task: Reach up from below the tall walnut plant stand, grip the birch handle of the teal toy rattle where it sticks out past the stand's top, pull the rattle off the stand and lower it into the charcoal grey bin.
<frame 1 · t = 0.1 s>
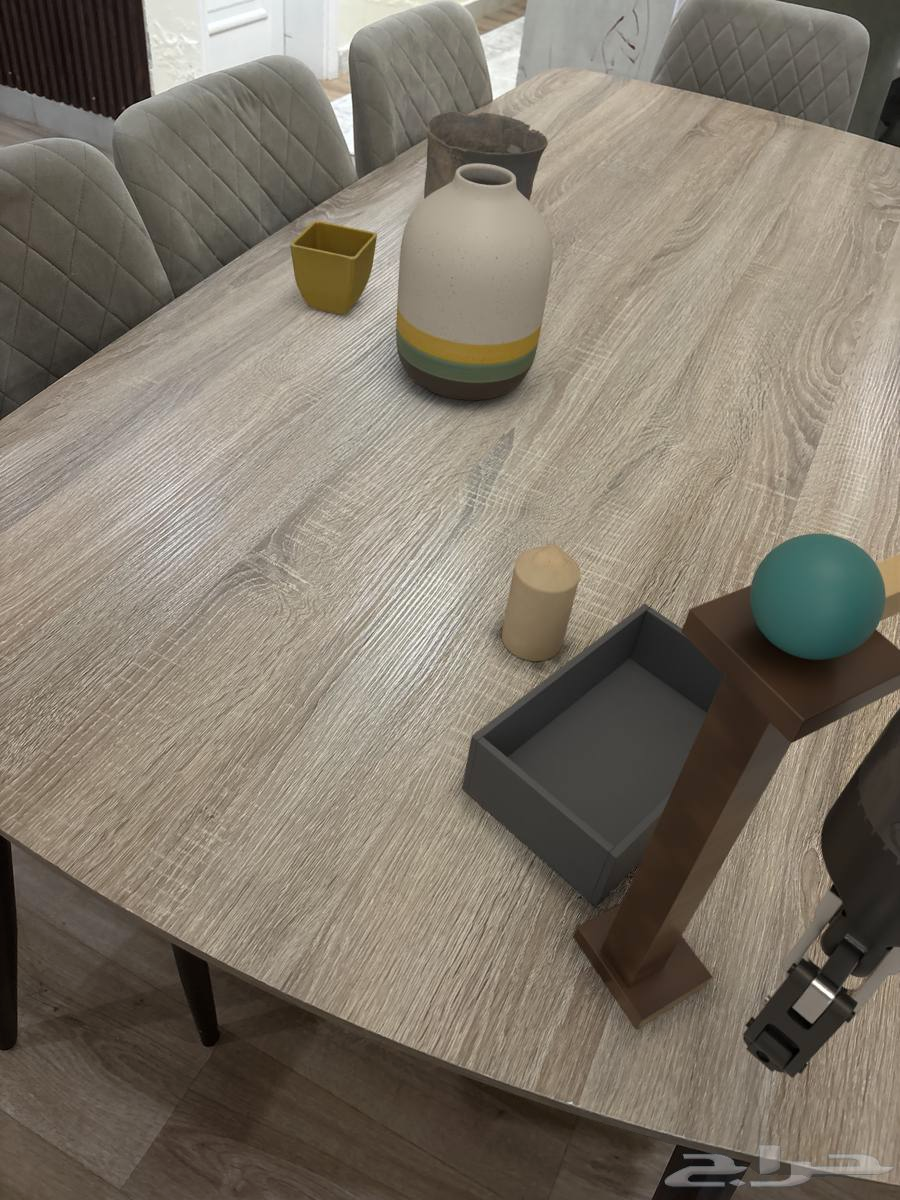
hand: (808, 991, 47), 15 cm above the table, tool pointing down, fingers open, 8 cm apart
candle: (531, 640, 84), on the table
flower pot: (333, 305, 125), on the table
vase: (462, 377, 115), on the table
dark brown chipped pot: (475, 235, 146), on the table
stand: (638, 961, 63), on the table
rattle: (794, 639, 40), point 32 cm above the table, touching stand
bin: (613, 766, 75), on the table
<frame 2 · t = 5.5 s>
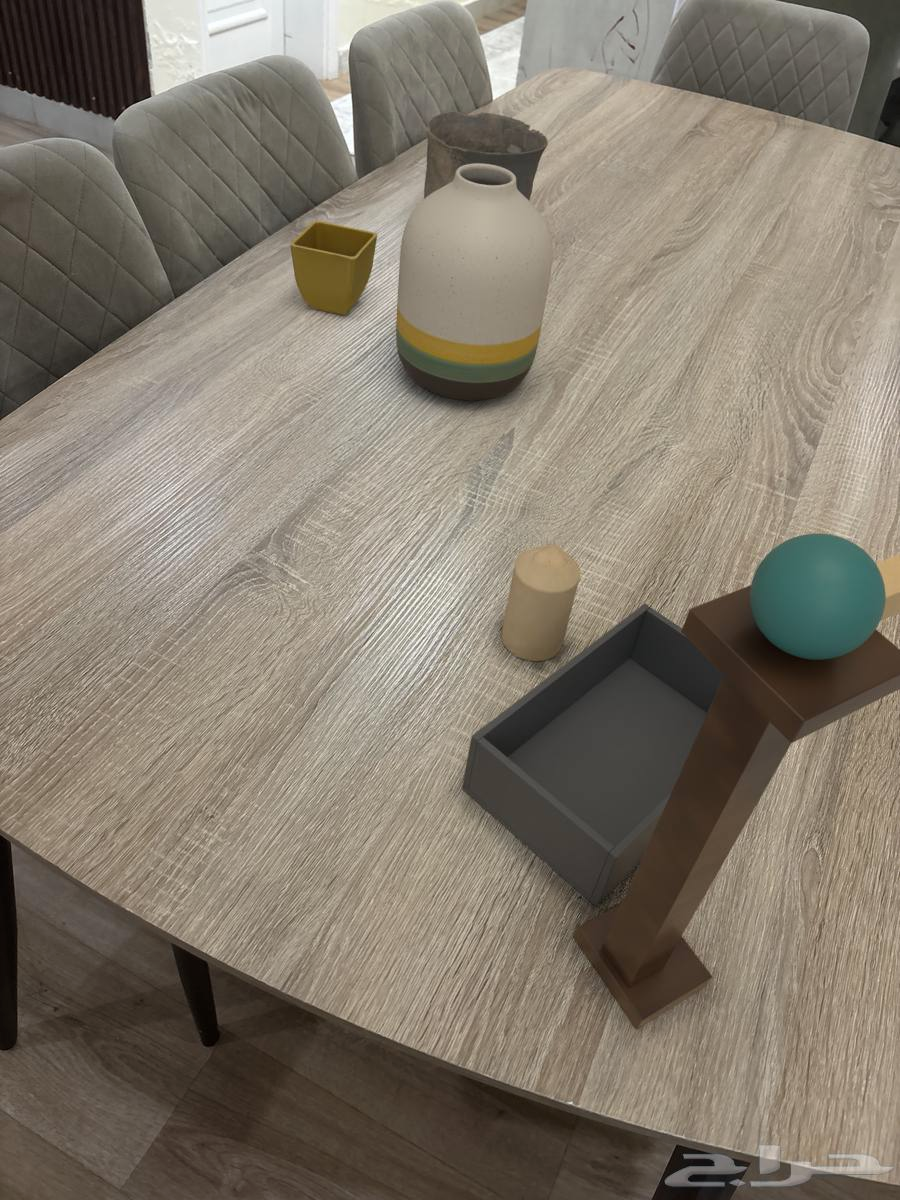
nothing on the table moved.
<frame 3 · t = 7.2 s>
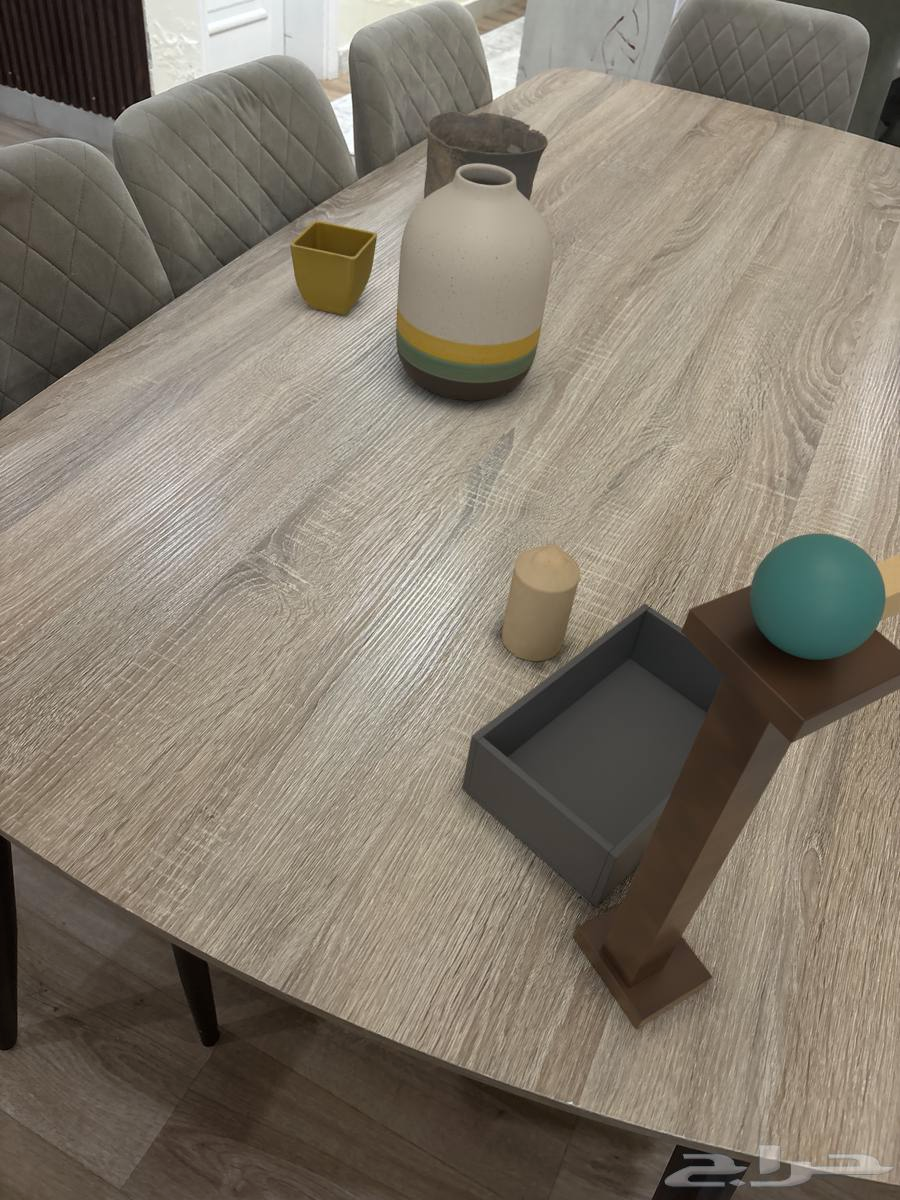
nothing on the table moved.
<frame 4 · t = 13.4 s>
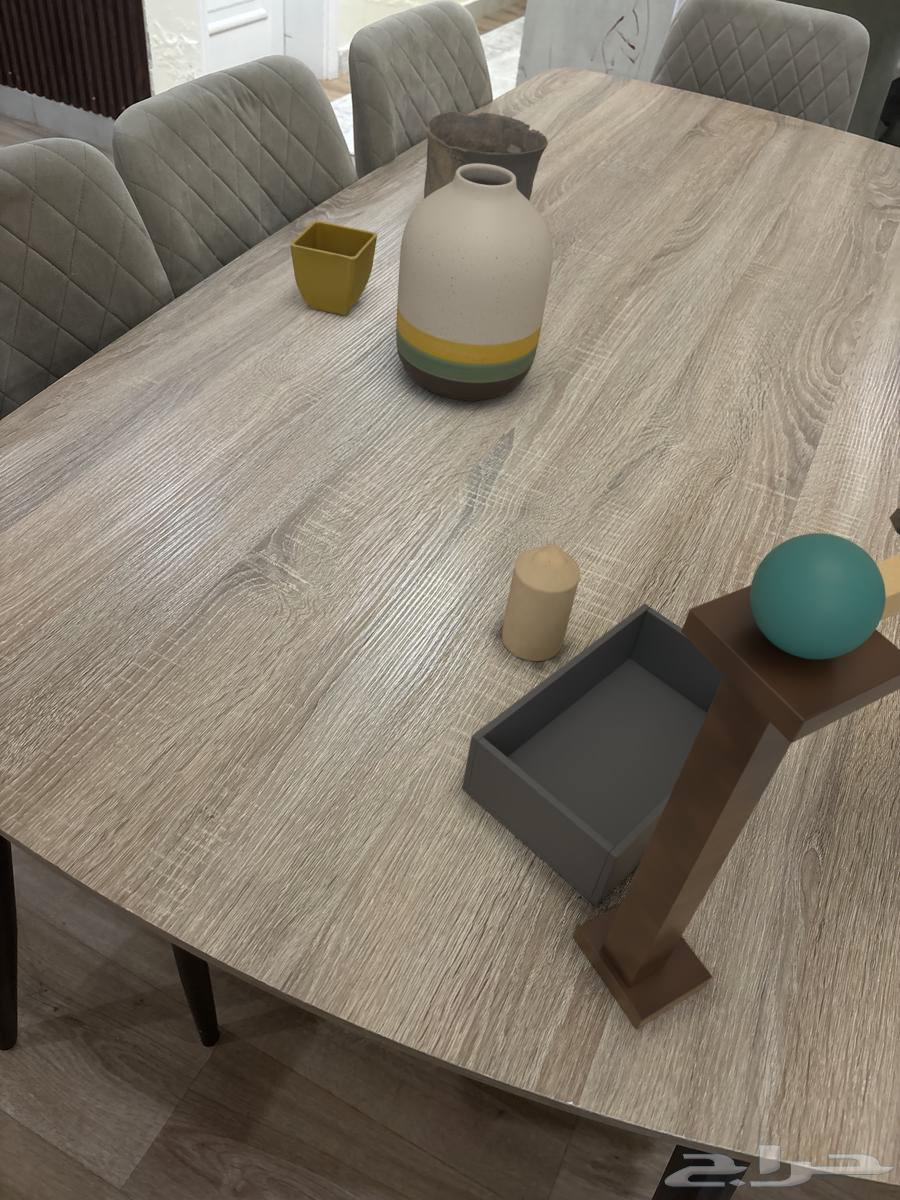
rattle: (794, 639, 40), point 32 cm above the table, touching gripper, stand
everything else where it was.
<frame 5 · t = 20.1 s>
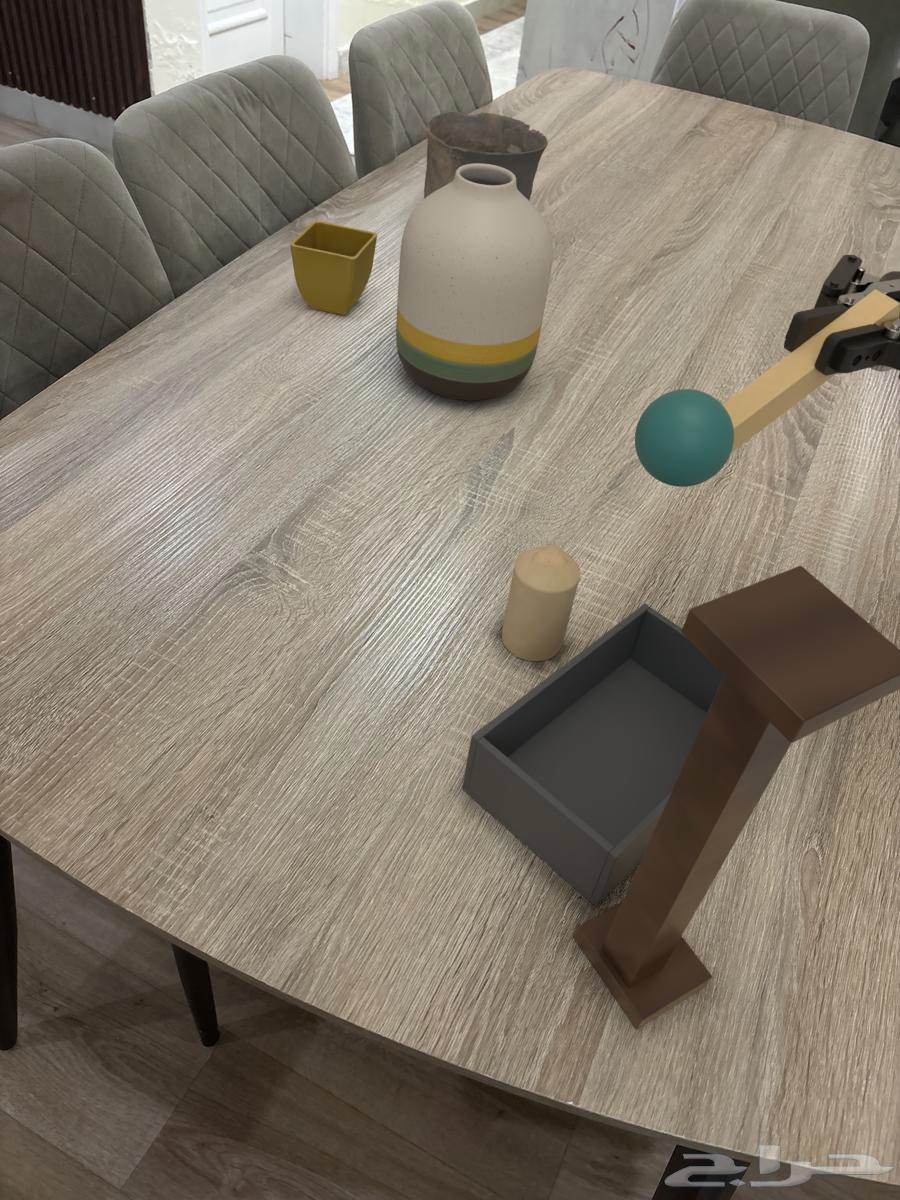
hand: (809, 345, 51), 36 cm above the table, tool horizontal, fingers closed on rattle
rattle: (690, 467, 53), point 30 cm above the table, tilted 29°, touching gripper
everything else where it was.
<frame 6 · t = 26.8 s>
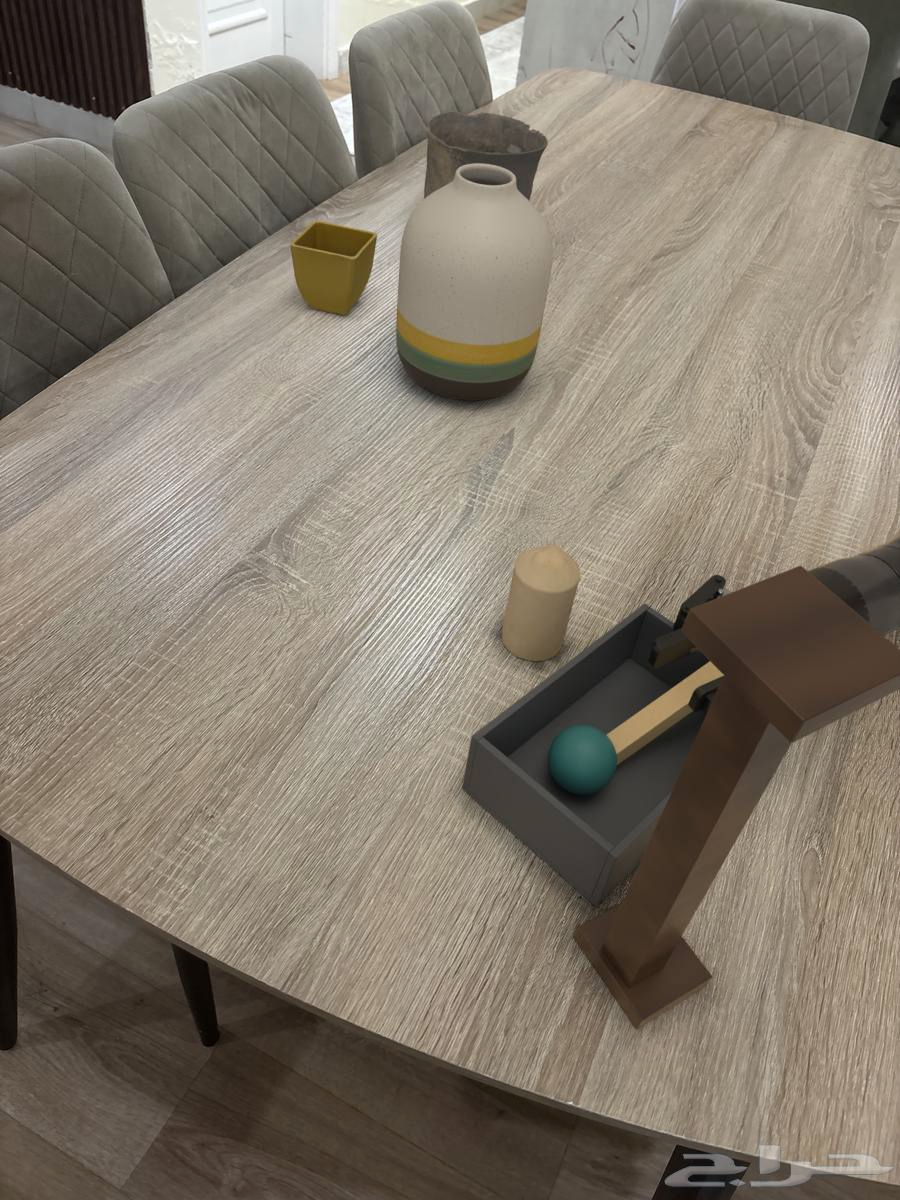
hand: (674, 678, 70), 9 cm above the table, tool horizontal, fingers open, 4 cm apart
rattle: (587, 773, 73), point 1 cm above the table, tilted 23°, touching bin
everything else where it was.
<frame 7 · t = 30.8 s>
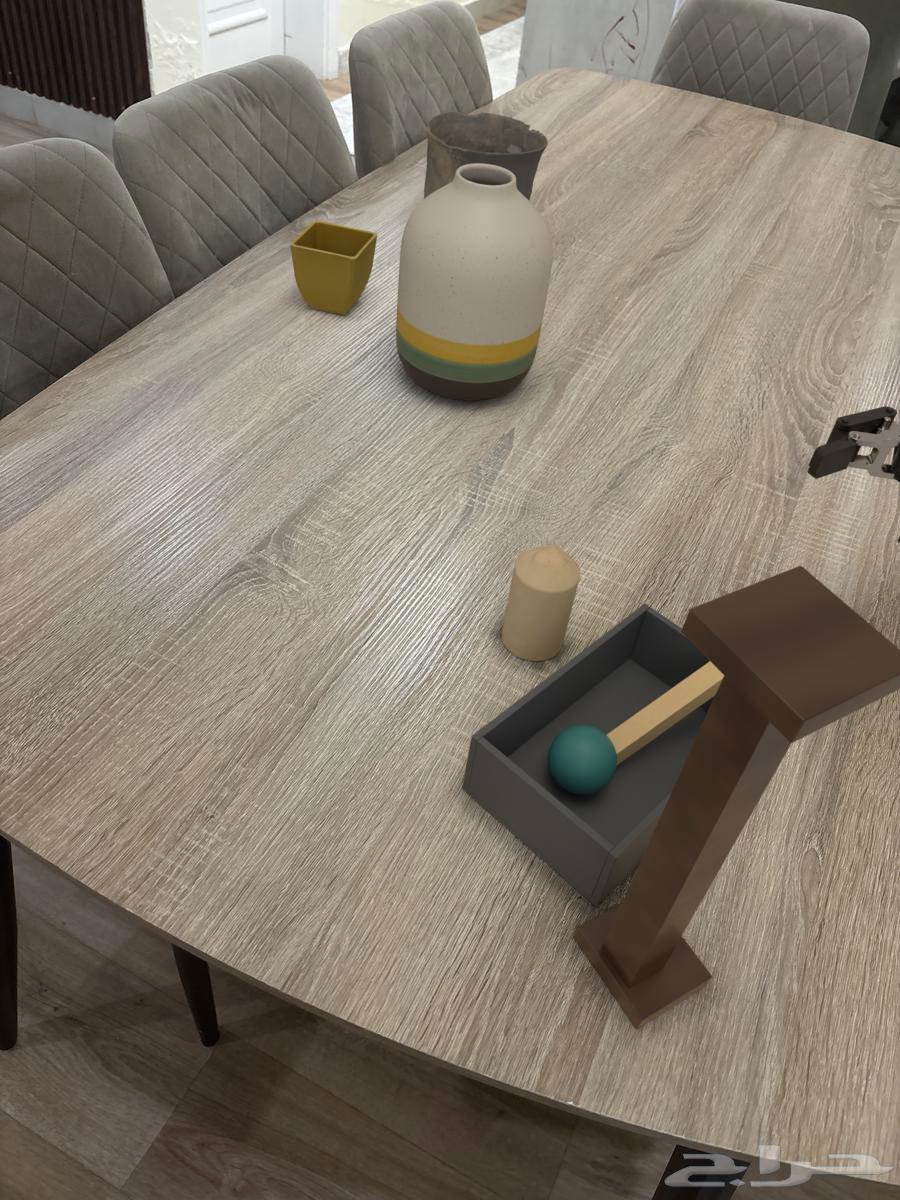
hand: (859, 498, 66), 22 cm above the table, tool horizontal, fingers open, 8 cm apart
nothing on the table moved.
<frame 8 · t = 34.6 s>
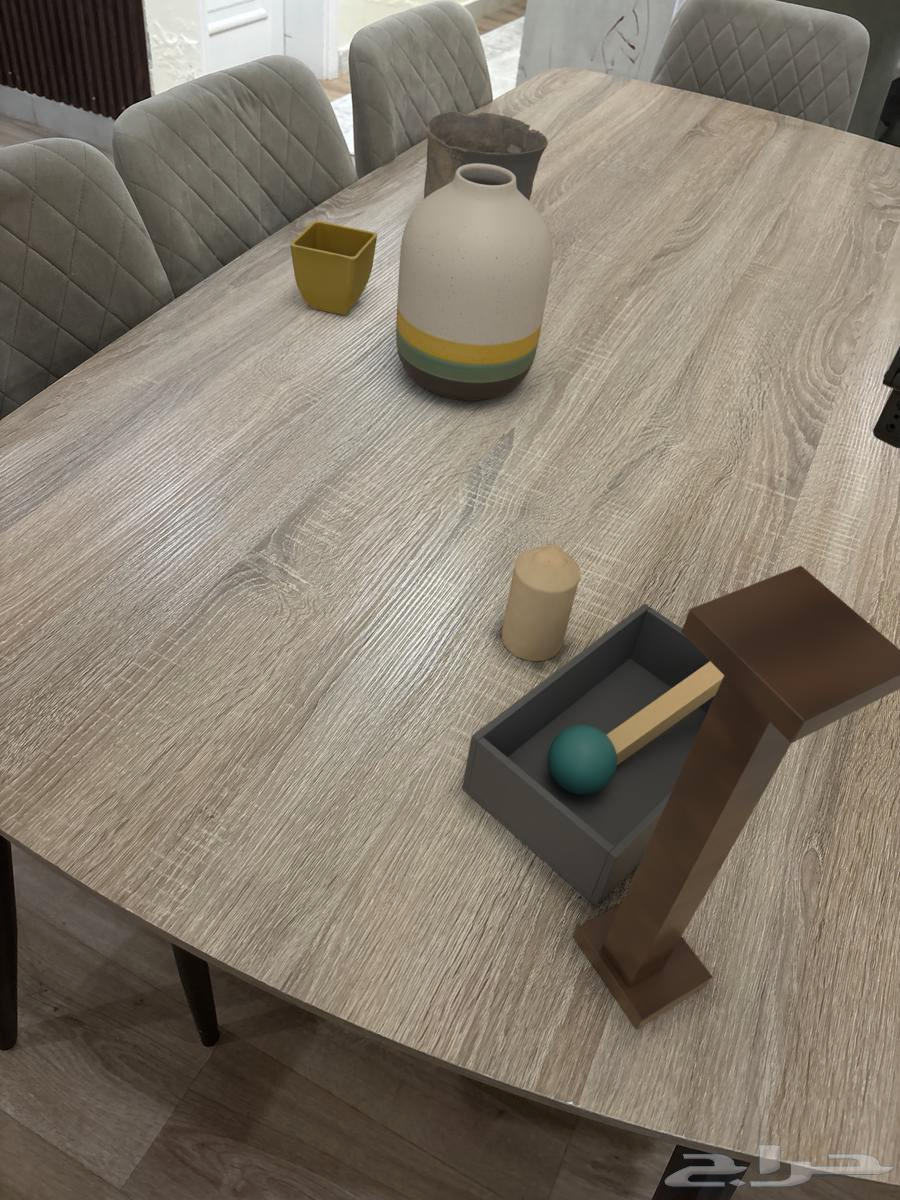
nothing on the table moved.
at the end: rattle inside the target area in the bin (2.8 cm from its centre), point 0.8 cm above the bin's base; the gripper is holding nothing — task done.
